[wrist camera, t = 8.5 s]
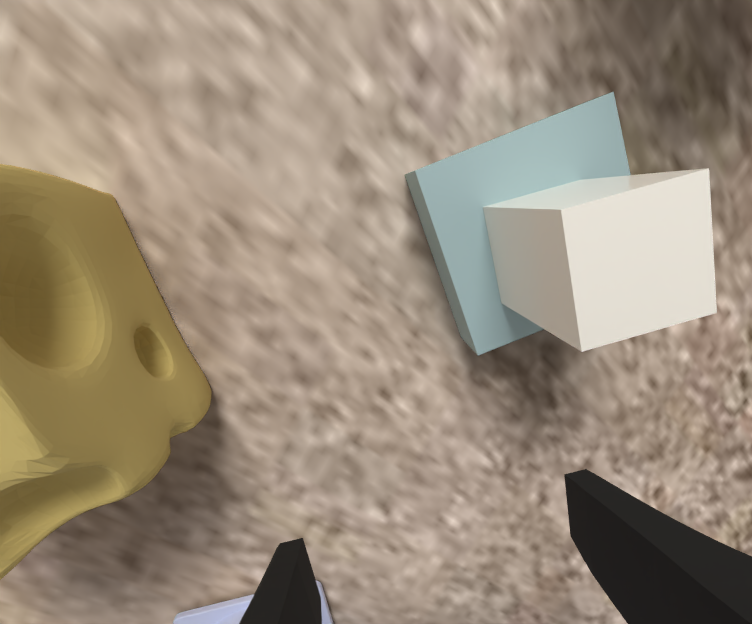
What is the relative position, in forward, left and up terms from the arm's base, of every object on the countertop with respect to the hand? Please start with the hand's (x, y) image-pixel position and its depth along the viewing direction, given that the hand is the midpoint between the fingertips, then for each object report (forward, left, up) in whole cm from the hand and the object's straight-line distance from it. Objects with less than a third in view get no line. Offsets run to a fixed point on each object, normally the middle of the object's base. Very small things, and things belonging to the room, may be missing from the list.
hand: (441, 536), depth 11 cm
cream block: (+6, -7, -7) cm, 12 cm away
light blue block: (+6, -7, -10) cm, 14 cm away
